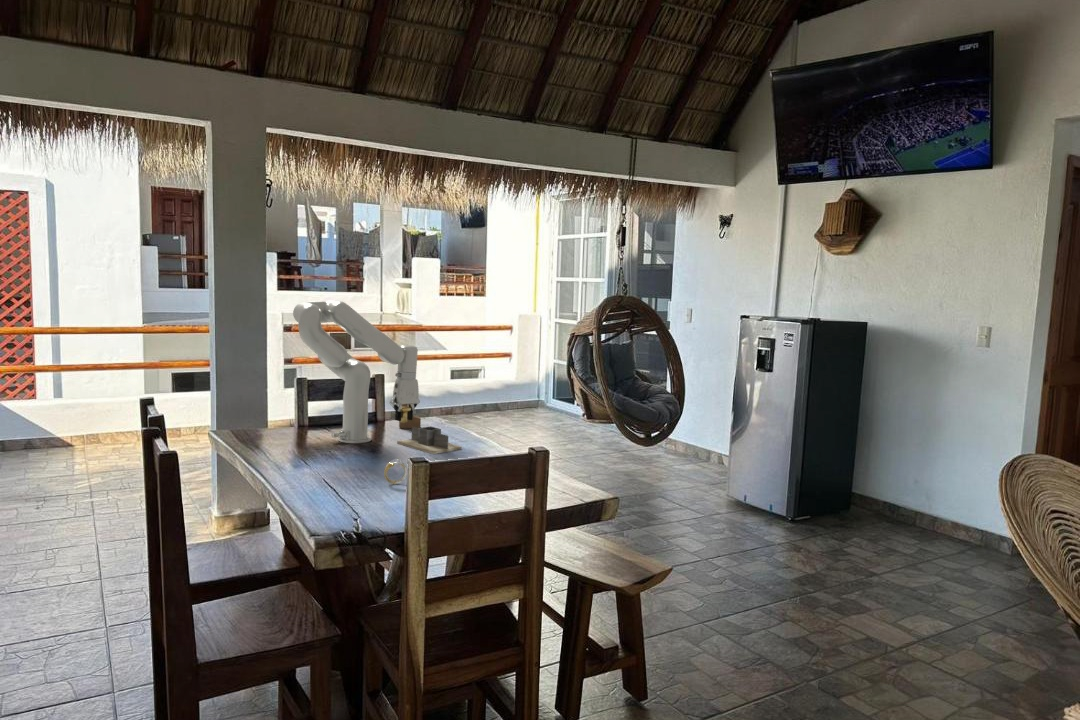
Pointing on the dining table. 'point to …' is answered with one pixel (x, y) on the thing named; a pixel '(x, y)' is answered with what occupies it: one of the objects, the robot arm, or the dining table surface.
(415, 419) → the wooden block
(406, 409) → the round gold knob
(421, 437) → the hinge base
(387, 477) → the ring
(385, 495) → the dining table surface
